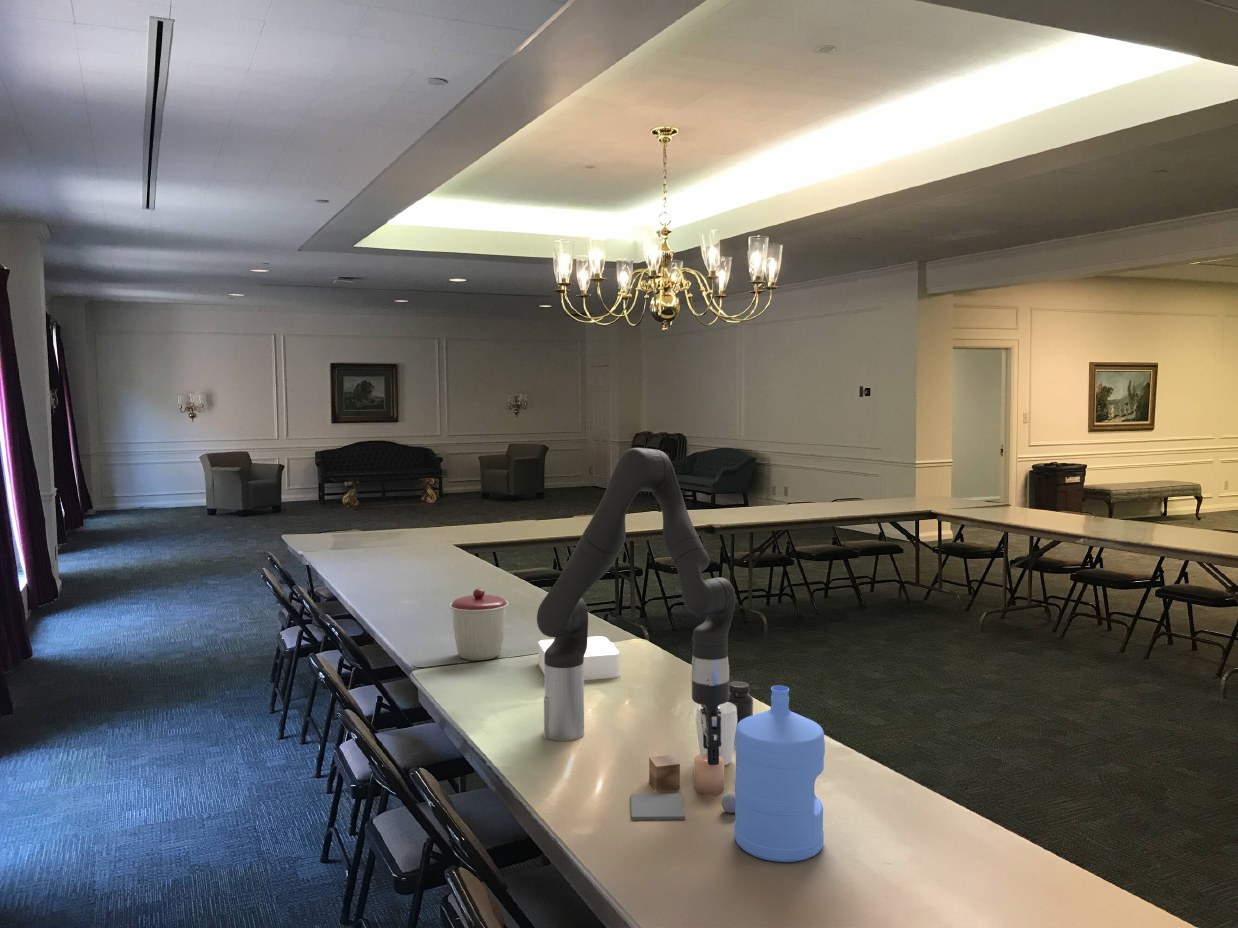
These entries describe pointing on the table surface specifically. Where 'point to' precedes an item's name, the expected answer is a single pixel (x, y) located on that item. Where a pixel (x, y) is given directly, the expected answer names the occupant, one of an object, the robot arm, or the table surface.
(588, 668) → the projector
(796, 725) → the water jug
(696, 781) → the peach rounded capsule
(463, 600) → the canister
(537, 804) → the table surface
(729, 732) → the cup
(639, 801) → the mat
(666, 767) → the walnut block
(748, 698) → the supplement bottle
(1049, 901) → the table surface
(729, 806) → the grey ball
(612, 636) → the table surface
